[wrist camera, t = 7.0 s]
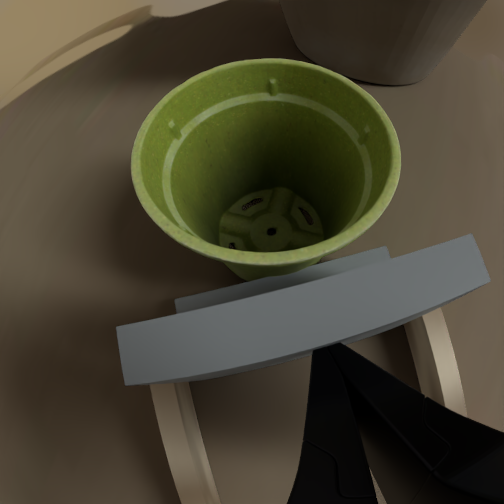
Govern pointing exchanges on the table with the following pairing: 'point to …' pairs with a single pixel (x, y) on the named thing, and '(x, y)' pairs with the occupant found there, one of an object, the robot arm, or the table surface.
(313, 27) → the plant pot
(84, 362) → the table surface
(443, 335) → the wooden rail frame
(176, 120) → the plant pot
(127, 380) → the board
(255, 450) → the table surface
